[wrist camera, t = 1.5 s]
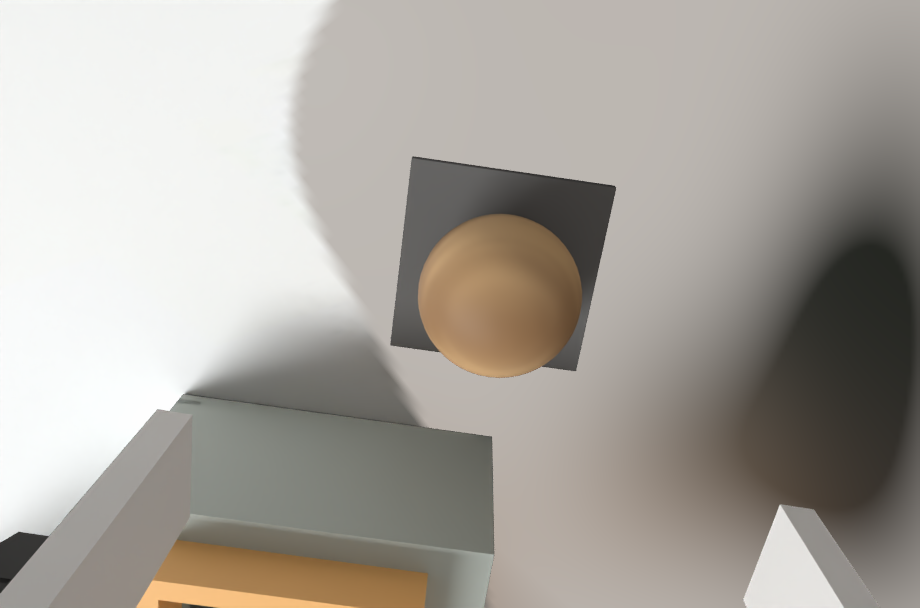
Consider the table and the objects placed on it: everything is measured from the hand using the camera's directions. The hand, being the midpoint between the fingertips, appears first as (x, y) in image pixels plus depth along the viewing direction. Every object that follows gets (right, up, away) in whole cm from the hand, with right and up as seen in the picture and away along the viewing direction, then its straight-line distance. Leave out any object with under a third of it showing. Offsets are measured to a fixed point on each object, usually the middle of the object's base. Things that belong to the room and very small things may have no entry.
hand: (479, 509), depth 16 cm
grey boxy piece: (-8, -11, +20) cm, 24 cm away
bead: (+1, +6, +13) cm, 15 cm away
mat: (+1, +6, +14) cm, 15 cm away
